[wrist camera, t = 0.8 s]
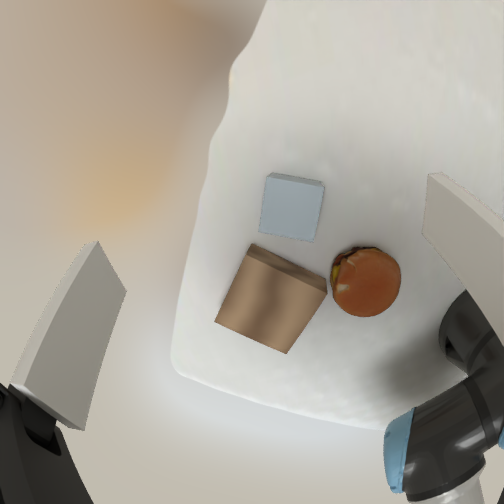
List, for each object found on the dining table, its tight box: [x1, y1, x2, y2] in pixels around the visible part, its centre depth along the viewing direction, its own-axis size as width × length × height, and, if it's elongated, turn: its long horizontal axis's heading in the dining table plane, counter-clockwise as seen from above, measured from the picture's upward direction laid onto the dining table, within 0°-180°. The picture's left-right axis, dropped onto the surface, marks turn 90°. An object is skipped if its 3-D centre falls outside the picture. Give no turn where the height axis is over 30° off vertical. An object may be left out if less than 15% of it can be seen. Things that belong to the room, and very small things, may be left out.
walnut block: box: [214, 244, 328, 354], centre depth 38 cm, size 11×11×4 cm
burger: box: [330, 247, 401, 317], centre depth 35 cm, size 10×9×5 cm
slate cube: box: [258, 173, 324, 242], centre depth 32 cm, size 6×6×6 cm
